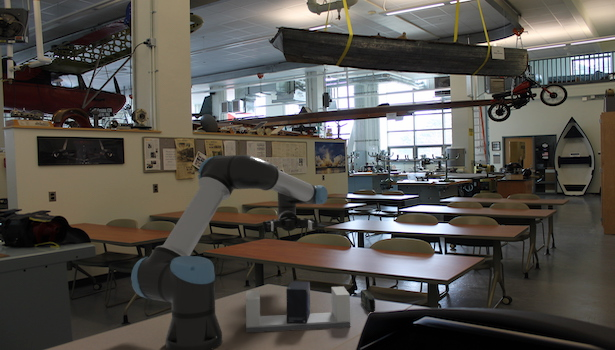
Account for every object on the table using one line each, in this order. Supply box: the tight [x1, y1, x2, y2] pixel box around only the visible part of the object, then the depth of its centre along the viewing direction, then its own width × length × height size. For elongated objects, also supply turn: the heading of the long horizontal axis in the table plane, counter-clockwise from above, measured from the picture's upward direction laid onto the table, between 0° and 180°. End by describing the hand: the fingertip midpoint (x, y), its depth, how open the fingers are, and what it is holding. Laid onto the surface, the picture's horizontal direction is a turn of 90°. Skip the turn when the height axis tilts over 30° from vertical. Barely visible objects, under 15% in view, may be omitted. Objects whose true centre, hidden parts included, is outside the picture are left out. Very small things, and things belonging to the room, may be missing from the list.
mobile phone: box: [360, 289, 376, 313], centre depth 153 cm, size 5×3×15 cm
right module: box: [331, 285, 351, 322], centre depth 139 cm, size 4×10×8 cm, turn 6°
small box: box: [285, 280, 311, 324], centre depth 138 cm, size 11×6×10 cm, turn 174°
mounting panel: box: [245, 311, 351, 333], centre depth 138 cm, size 31×10×2 cm, turn 96°
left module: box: [245, 289, 261, 327], centre depth 137 cm, size 4×10×8 cm, turn 6°
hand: (291, 226), depth 157 cm, fingers open, 13 cm apart
